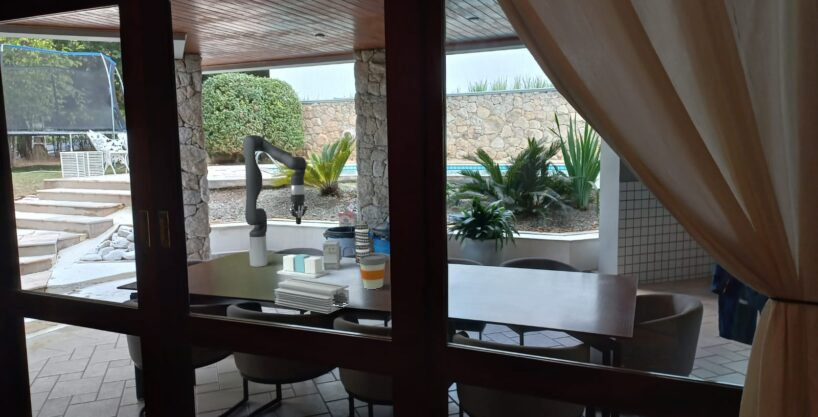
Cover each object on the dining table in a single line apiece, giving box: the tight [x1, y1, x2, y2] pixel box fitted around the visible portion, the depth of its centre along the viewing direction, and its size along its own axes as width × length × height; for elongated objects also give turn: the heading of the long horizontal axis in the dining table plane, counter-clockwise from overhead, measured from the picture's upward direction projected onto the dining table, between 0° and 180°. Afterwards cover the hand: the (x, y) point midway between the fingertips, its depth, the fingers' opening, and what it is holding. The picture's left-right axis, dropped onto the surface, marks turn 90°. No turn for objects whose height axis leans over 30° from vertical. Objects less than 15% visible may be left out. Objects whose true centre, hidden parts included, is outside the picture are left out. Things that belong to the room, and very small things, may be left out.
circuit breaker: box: [322, 240, 343, 271], centre depth 317 cm, size 8×14×15 cm, turn 174°
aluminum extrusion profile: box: [273, 276, 350, 315], centre depth 246 cm, size 14×31×10 cm, turn 58°
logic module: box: [295, 253, 311, 272], centre depth 304 cm, size 6×5×8 cm
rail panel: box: [276, 254, 330, 279], centre depth 304 cm, size 26×12×9 cm, turn 60°
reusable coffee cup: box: [359, 253, 387, 290], centre depth 271 cm, size 13×13×15 cm
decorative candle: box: [353, 219, 371, 266], centre depth 324 cm, size 9×9×25 cm
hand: (298, 224), depth 312 cm, fingers closed
